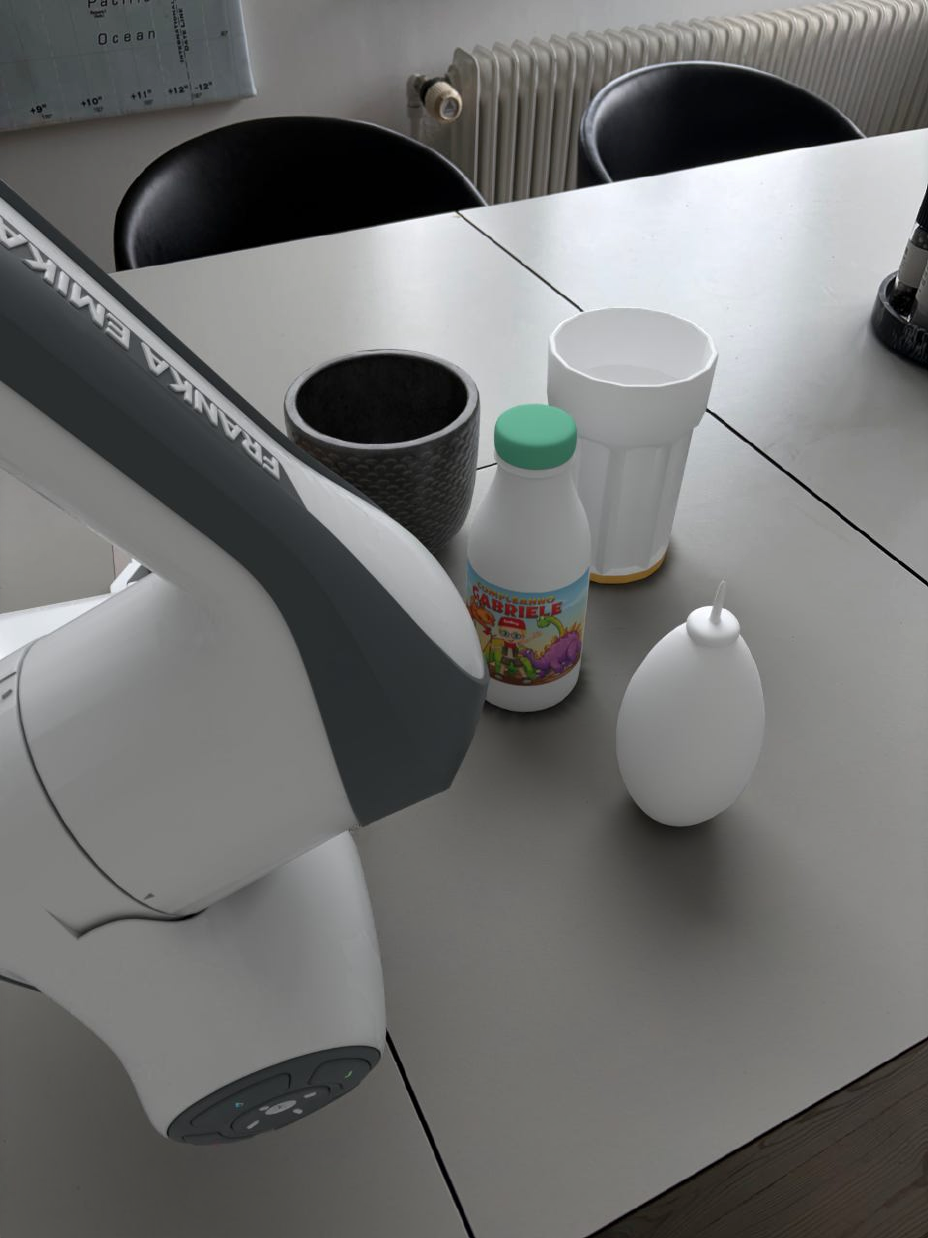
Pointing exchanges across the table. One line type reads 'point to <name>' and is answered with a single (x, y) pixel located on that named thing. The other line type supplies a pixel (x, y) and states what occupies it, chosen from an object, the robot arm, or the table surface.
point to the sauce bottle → (692, 720)
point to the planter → (394, 434)
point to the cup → (630, 425)
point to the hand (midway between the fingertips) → (188, 544)
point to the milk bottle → (530, 562)
